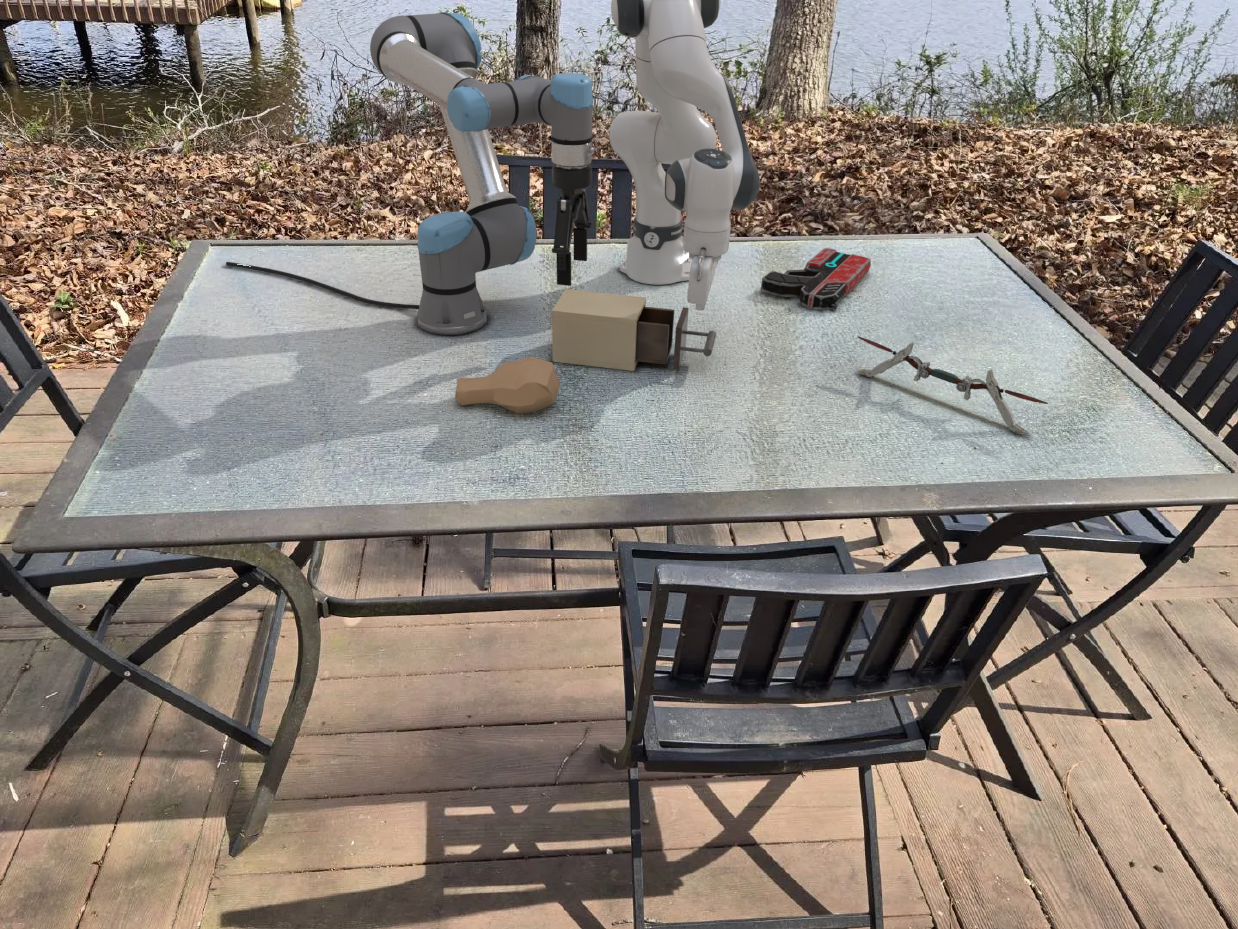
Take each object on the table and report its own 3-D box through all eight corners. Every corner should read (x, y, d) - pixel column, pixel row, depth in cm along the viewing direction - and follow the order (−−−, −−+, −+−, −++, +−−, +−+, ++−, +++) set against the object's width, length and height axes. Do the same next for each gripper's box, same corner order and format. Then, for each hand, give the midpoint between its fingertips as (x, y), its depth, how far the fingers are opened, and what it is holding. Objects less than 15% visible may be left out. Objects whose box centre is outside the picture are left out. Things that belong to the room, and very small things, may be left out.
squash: (562, 419, 163) (554, 381, 157) (456, 427, 164) (445, 390, 158) (565, 383, 171) (557, 345, 164) (464, 391, 172) (453, 354, 166)
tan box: (643, 347, 189) (646, 297, 182) (634, 371, 179) (636, 319, 173) (566, 338, 191) (565, 288, 185) (552, 361, 182) (551, 310, 176)
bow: (1038, 437, 161) (1054, 389, 156) (1034, 440, 160) (1051, 392, 155) (853, 367, 183) (861, 323, 177) (848, 370, 182) (857, 326, 176)
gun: (758, 278, 211) (834, 298, 203) (804, 240, 233) (875, 256, 225) (755, 296, 213) (831, 316, 205) (802, 256, 235) (872, 273, 227)
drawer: (714, 351, 185) (718, 310, 180) (709, 373, 177) (713, 331, 172) (612, 340, 189) (613, 299, 184) (602, 361, 180) (603, 319, 175)
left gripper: (575, 184, 154) (576, 297, 166) (605, 149, 174) (603, 252, 186) (534, 180, 155) (537, 293, 167) (568, 146, 175) (569, 248, 187)
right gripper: (716, 260, 158) (710, 330, 166) (727, 224, 175) (721, 290, 183) (682, 257, 159) (677, 327, 167) (696, 222, 176) (691, 287, 184)
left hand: (572, 272), depth 176 cm, fingers open, 13 cm apart
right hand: (700, 307), depth 175 cm, fingers closed
